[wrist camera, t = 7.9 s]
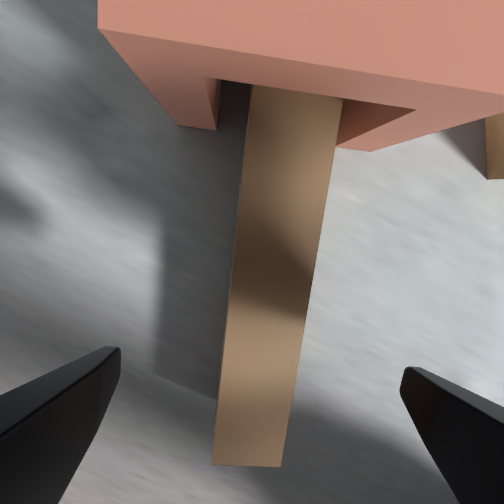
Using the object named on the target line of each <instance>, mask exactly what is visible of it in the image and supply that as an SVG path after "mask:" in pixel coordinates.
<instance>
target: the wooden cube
mask: <svg viewBox="0 0 504 504" xmlns="http://www.w3.org/2000/svg"><path fill="white" fill-rule="evenodd" d="M485 126H486V162H487V180H488V179H504V112H502V113H499V114H495V115H492V116H489V117H485Z"/></svg>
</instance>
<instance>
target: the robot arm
mask: <svg viewBox="0 0 504 504" xmlns="http://www.w3.org/2000/svg"><path fill="white" fill-rule="evenodd" d="M120 370H121V350H120V348H119V347H110V346H105V347H103V348H101V349H99V350H96V351H94V352H92V353H90V354H88V355H86V356H84V357H81V358H79V359H77V360H75V361H73V362H71V363H69V364H66V365H64V366H62V367H60V368H58V369H56V370H54V371H51V372H49V373H47V374H45V375H43V376H41V377H39V378H36V379H34V380H32V381H30V382H28V383H26V384H24V385H21V386H19V387H17V388H15V389H13V390H11V391H9V392H6V393H4V394H2V395H0V504H58V503H59V501H60V499H61V498H62V496H63V494H64V492H65V490H66V488H67V487H68V485H69V483H70V481H71V479H72V477H73V476H74V474H75V472H76V470H77V468H78V466H79V464H80V463H81V461H82V459H83V457H84V455H85V453H86V452H87V450H88V448H89V446H90V444H91V442H92V441H93V439H94V437H95V435H96V433H97V431H98V428H99V426H100V424H101V422H102V419H103V417H104V414H105V412H106V410H107V407H108V405H109V402H110V400H111V398H112V395H113V393H114V390H115V388H116V386H117V383H118V381H119V377H120ZM400 395H401V398H402V400H403V402H404V404H405V406H406V408H407V410H408V412H409V414H410V416H411V418H412V420H413V422H414V424H415V426H416V429H417V431H418V433H419V435H420V437H421V439H422V440H423V442H424V444H425V446H426V448H427V450H428V451H429V453H430V455H431V457H432V458H433V460H434V462H435V463H436V465H437V467H438V468H439V470H440V472H441V473H442V475H443V477H444V478H445V480H446V482H447V483H448V485H449V487H450V488H451V490H452V492H453V493H454V495H455V497H456V498H457V500H458V502H459V503H460V504H504V407H502V406H500V405H498V404H496V403H494V402H492V401H490V400H488V399H486V398H483V397H481V396H479V395H477V394H475V393H473V392H471V391H469V390H467V389H465V388H462V387H460V386H458V385H456V384H454V383H452V382H450V381H448V380H446V379H444V378H441V377H439V376H437V375H435V374H433V373H431V372H429V371H427V370H425V369H423V368H420V367H406V368H405V370H404V373H403V377H402V381H401V385H400Z"/></svg>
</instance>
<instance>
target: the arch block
mask: <svg viewBox="0 0 504 504" xmlns="http://www.w3.org/2000/svg"><path fill="white" fill-rule="evenodd" d="M97 28H98V30H99V31H100V32H101V33H102V34H103V36H104V37H105V38H106V39H107V40H108V42H109V43H110V44H111V45H112V46H113V48H114V49H115V50H116V51H117V53H118V54H119V55H120V56H121V57H122V59H123V60H124V61H125V62H126V63H127V65H128V66H129V67H130V68H131V70H132V71H133V72H134V73H135V74H136V76H137V77H138V78H139V79H140V80H141V82H142V83H143V84H144V85H145V87H146V88H147V89H148V90H149V91H150V93H151V94H152V95H153V96H154V97H155V99H156V100H157V101H158V102H159V104H160V105H161V106H162V107H163V108H164V110H165V111H166V112H167V113H168V114H169V116H170V117H171V118H172V119H173V120H174V122H175V123H176V124H177V125H180V126H187V127H195V128H202V129H209V130H216V131H217V122H218V110H219V98H220V86H221V79H222V80H229V81H235V82H242V83H248V84H255V85H261V86H268V87H274V88H280V89H287V90H293V91H300V92H306V93H313V94H319V95H326V96H332V97H339V98H344V99H343V105H342V110H341V116H340V122H339V128H338V134H337V140H336V146H335V147H340V148H347V149H354V150H362V151H369V152H371V151H374V150H378V149H381V148H384V147H388V146H391V145H394V144H398V143H401V142H404V141H408V140H411V139H415V138H418V137H421V136H425V135H428V134H431V133H435V132H438V131H442V130H445V129H448V128H452V127H455V126H458V125H462V124H465V123H468V122H472V121H475V120H479V119H482V118H485V117H489V116H492V115H495V114H499V113H502V112H504V0H98V17H97Z"/></svg>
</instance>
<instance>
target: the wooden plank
mask: <svg viewBox="0 0 504 504" xmlns="http://www.w3.org/2000/svg"><path fill="white" fill-rule="evenodd" d="M343 99H344V98H339V97H332V96H326V95H319V94H313V93H306V92H300V91H293V90H287V89H280V88H274V87H268V86H261V85H255V84H251V90H250V99H249V108H248V117H247V126H246V136H245V145H244V154H243V163H242V172H241V181H240V191H239V200H238V209H237V218H236V227H235V236H234V246H233V255H232V264H231V273H230V282H229V291H228V301H227V310H226V319H225V328H224V337H223V346H222V355H221V365H220V374H219V383H218V392H217V401H216V414H215V426H214V438H213V450H212V462H211V465H232V466H259V467H281V461H282V455H283V450H284V444H285V438H286V432H287V426H288V420H289V414H290V409H291V403H292V397H293V391H294V385H295V379H296V374H297V368H298V362H299V356H300V350H301V344H302V338H303V333H304V327H305V321H306V315H307V309H308V303H309V298H310V292H311V286H312V280H313V274H314V268H315V262H316V257H317V251H318V245H319V239H320V233H321V227H322V222H323V216H324V210H325V204H326V198H327V192H328V186H329V181H330V175H331V169H332V163H333V157H334V151H335V146H336V140H337V134H338V128H339V122H340V116H341V110H342V105H343Z"/></svg>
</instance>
